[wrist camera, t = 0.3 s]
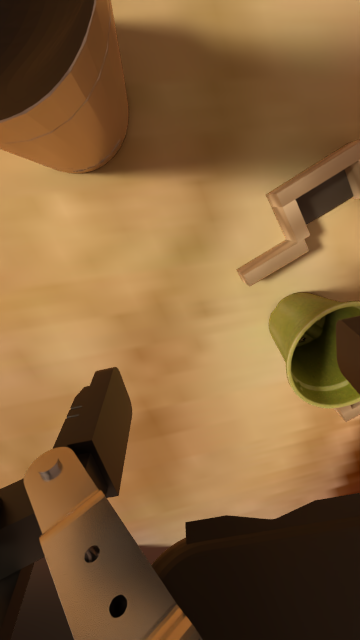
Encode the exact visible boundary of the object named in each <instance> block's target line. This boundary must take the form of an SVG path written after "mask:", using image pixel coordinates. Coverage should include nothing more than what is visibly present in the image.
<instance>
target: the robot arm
mask: <svg viewBox="0 0 360 640" xmlns="http://www.w3.org/2000/svg"><path fill="white" fill-rule="evenodd" d="M128 118H129V107H128V100H127V94H126V87H125V80H124V74H123V68H122V62H121V57H120V51H119V45H118V39H117V34H116V28H115V22H114V16H113V10H112V5H111V0H0V149H2V150H4V151H7V152H10V153H12V154H15V155H18V156H20V157H23V158H26V159H28V160H31V161H34V162H36V163H39V164H42V165H44V166H47V167H50V168H52V169H55V170H58V171H62V172H67V173H85V172H89V171H93V170H95V169H97V168H99V167H101V166H103V165H105V164H106V163H107V162H108V161H109V160H110V159H112V158H113V157H114V155H115V154H116V153H117V151H118V150H119V148H120V147H121V145H122V142H123V140H124V138H125V136H126V131H127V127H128ZM336 353H337V363H338V366H339V369H340V371H341V373H342V374H343V376H344V377H345V378H346V379H347V381H348V382H349V383H350V384H351V385H352V386H353V388H354V389H355V390H356V391H357V392H358V394H359V395H360V316H356V317H351V318H346V319H342V320H338V321H337V323H336ZM131 419H132V406H131V401H130V398H129V395H128V393H127V390H126V388H125V385H124V382H123V380H122V377H121V374H120V372H119V370H118V368H117V367H113V368H108V369H104V370H99V371H96V372H95V374H94V377H93V379H92V382H91V384H90V386H87V387H84V388H83V389H82V390H81V391H80V393H79V394H78V395H77V396H76V397H75V399H74V401H73V403H72V406H71V410H69V412H68V415H67V419H65V422H64V424H63V426H62V429H61V431H60V433H59V435H58V438H57V440H56V442H55V445H54V447H53V449H51V450H49V451H47V452H45V453H43V454H42V455H40V456H39V457H38V458H37V459H36V460H35V461H34V462H33V463H32V464H31V465H30V466H29V468H28V469H27V471H26V473H25V476H24V479H22V480H19V481H17V482H15V483H13V484H11V485H8V486H6V487H4V488H2V489H0V640H11V637H12V634H13V631H14V627H15V624H16V621H17V617H18V614H19V611H20V607H21V604H22V601H23V598H24V595H25V592H26V588H27V585H28V582H29V579H30V575H31V572H32V569H33V565H34V562H35V561H37V560H39V559H41V558H43V557H45V558H46V561H47V564H48V567H49V569H50V572H51V575H52V578H53V581H54V584H55V586H56V589H57V592H58V595H59V598H60V600H61V603H62V606H63V609H64V612H65V615H66V618H67V620H68V623H69V626H70V629H71V632H72V635H73V637H74V640H360V494H359V493H357V494H351V495H345V496H339V497H333V498H327V499H321V500H315V501H313V502H311V503H309V504H307V505H305V506H302V507H300V508H298V509H296V510H294V511H292V512H290V513H287V514H285V515H283V516H281V517H279V518H276V519H259V518H248V517H238V516H227V515H226V516H220V517H215V518H209V519H203V520H197V521H191V522H186V538H184V539H182V540H180V541H178V542H177V543H175V544H174V545H172V546H171V547H169V548H168V549H167V550H166V551H165V552H163V553H162V554H161V555H160V556H159V557H158V558H157V559H156V560H155V562H154V563H153V564H152V565H151V564H150V563H149V561H148V560H147V558H146V557H145V555H144V554H143V552H142V551H141V549H140V548H139V546H138V545H137V543H136V542H135V540H134V539H133V537H132V536H131V534H130V533H129V531H128V530H127V528H126V527H125V525H124V524H123V522H122V521H121V519H120V518H119V516H118V515H117V513H116V512H115V510H114V509H113V507H112V506H111V504H110V503H109V501H108V500H107V498H109V497H114V496H118V495H119V490H120V484H121V478H122V472H123V466H124V460H125V454H126V448H127V442H128V436H129V431H130V425H131Z"/></svg>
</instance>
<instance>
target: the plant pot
mask: <svg viewBox="0 0 360 640" xmlns="http://www.w3.org/2000/svg"><path fill="white" fill-rule="evenodd" d="M356 316H360V301H349V302H338V301H334V300H331V299H327V298H324V297H320V296H317V295H314V294H310V293H304V292H302V293H294V294H291V295H289V296H287V297H285V298H284V299H282V300H281V301H280V302H279V304H278V305H277V307H276V308H275V309H274V311H273V312H272V313H271V316H270V319H269V330H270V333H271V335H272V338H273V339H274V341H275V343H276V345H277V347H278V349H279V350H280V352H281V354H282V356H283V358H284V360H285V362H286V373H287V378H288V381H289V384H290V386H291V388H292V389H293V391H294V392H295V394H296V395H297V396H298V397H299V398H301V399H302V400H303V401H305V402H306V403H308V404H310V405H313V406H316V407H320V408H340V407H344V406H349V405H352V404H355V403H357V402H360V395H359V394H358V392H357V391H356V390H355V389H354V388H353V386H352V385H351V384H350V383H349V382H348V381H347V379H346V378H345V377H344V376H343V374H342V373H341V371H340V369H339V366H338V363H337V353H336V323H337V321H338V320H342V319H346V318H351V317H356ZM320 318H321V319H320ZM319 319H320V320H319ZM304 337H306V339H305V340H304V341H302V342H299V340H300V339H302V338H304Z"/></svg>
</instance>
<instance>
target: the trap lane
mask: <svg viewBox="0 0 360 640" xmlns="http://www.w3.org/2000/svg"><path fill="white" fill-rule="evenodd" d="M266 196H267V198H268V200H269V203H270V205H271V207H272V209H273V211H274V214H275V216H276V218H277V220H278V223H279V225H280V227H281V229H282V231H283V234H284V236H285V238H286V240H285V241H283V242H281V243H280V244H278V245H276V246H275V247H273V248H272V249H270V250H268V251H267V252H265V253H263V254H262V255H260V256H258V257H257V258H255V259H253V260H252V261H250V262H248V263H247V264H245V265H243V266H242V267H240V268H238V269H237V272H238V274H239V276H240V277H241V279H242V281H244V282H245V283H246V284H247V285H249V286H251V285H253V284H255V283H256V282H258V281H260V280H261V279H263V278H265V277H266V276H268V275H270V274H271V273H273V272H275V271H277V270H278V269H280V268H282V267H283V266H285V265H287V264H288V263H290V262H292V261H293V260H295V259H297V258H298V257H300V256H302V255H303V254H305V253H307V252H308V251H309V249H308V247H307V244H306V242H305V240H304V239H305V238H307V237H308V236H310V233H309V231H308V228H307V226H306V225H307V224H308V223H310V222H312V221H313V220H315V219H316V218H318V217H320V216H321V215H323V214H325V213H326V212H328V211H330V210H331V209H333V208H335V207H336V206H338V205H340V204H341V203H343V202H345V201H346V200H348V199H350V198H351V197H353V199H360V140H357V141H353V142H350V143H348V144H346V145H345V146H343V147H341V148H340V149H338V150H337V151H335V152H333V153H332V154H330V155H329V156H327V157H325V158H324V159H322V160H321V161H319V162H317V163H316V164H314V165H313V166H311V167H309V168H308V169H306V170H305V171H303V172H301V173H300V174H298V175H297V176H295V177H293V178H292V179H290V180H289V181H287V182H285V183H284V184H282V185H281V186H279V187H277V188H276V189H274V190H273V191H271V192H269V193H268V194H266ZM334 409H335V410H336V412H337V413H338V414H339V415H340V416H341V417H342V418H343V419H344V420H345V421H346V422H347V421H349V420H351V419H353V418H354V417H356V416H358V415H360V402H357V403H355V404H352V405H349V406H344V407H340V408H334Z"/></svg>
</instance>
